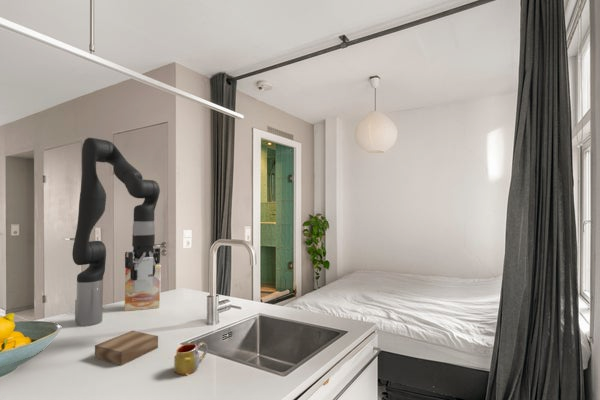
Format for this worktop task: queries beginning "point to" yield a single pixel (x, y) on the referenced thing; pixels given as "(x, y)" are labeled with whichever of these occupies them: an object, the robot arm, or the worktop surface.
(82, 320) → the robot arm
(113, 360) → the base
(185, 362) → the mug
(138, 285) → the skincare box
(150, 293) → the coffeecake box
